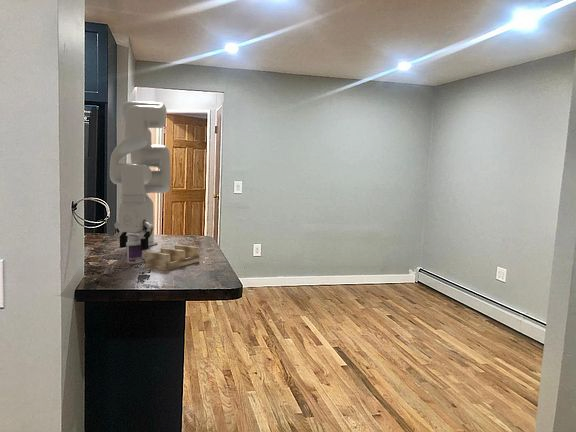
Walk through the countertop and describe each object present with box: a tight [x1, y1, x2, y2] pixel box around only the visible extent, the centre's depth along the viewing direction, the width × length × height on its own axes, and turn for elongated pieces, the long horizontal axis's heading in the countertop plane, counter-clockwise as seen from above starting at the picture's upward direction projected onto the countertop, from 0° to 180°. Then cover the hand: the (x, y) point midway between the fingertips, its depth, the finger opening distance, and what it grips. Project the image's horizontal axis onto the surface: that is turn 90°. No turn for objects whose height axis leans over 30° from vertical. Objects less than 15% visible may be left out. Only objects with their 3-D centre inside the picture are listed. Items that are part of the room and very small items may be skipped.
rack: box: [144, 244, 200, 271], centre depth 162 cm, size 10×17×5 cm, turn 154°
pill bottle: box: [125, 235, 143, 265], centre depth 163 cm, size 5×5×10 cm
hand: (134, 248), depth 162 cm, fingers open, 9 cm apart
